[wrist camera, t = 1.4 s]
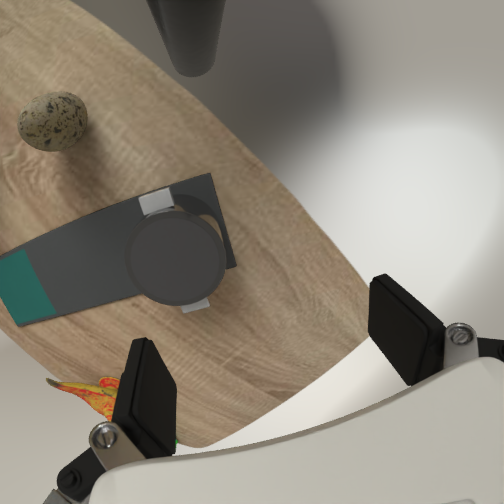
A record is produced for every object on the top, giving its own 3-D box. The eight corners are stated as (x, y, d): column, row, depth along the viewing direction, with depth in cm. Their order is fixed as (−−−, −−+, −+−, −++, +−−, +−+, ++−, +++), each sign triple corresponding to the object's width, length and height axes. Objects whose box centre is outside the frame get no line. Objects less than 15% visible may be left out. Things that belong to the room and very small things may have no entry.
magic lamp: (69, 337, 33) (43, 393, 23) (160, 401, 40) (157, 456, 30) (52, 357, 34) (29, 408, 24) (137, 414, 41) (132, 465, 31)
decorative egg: (46, 143, 23) (-7, 152, 14) (61, 93, 21) (11, 82, 12) (88, 153, 25) (41, 163, 16) (104, 100, 23) (62, 87, 14)
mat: (210, 172, 28) (210, 172, 28) (236, 265, 33) (236, 266, 32) (-15, 264, 26) (-16, 264, 26) (19, 325, 31) (18, 327, 30)
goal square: (25, 247, 27) (23, 248, 27) (57, 312, 31) (57, 313, 31) (-13, 267, 26) (-15, 267, 26) (17, 323, 31) (16, 324, 30)
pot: (124, 196, 27) (102, 213, 21) (204, 169, 28) (204, 178, 21) (161, 291, 32) (154, 328, 26) (234, 271, 33) (242, 304, 26)
